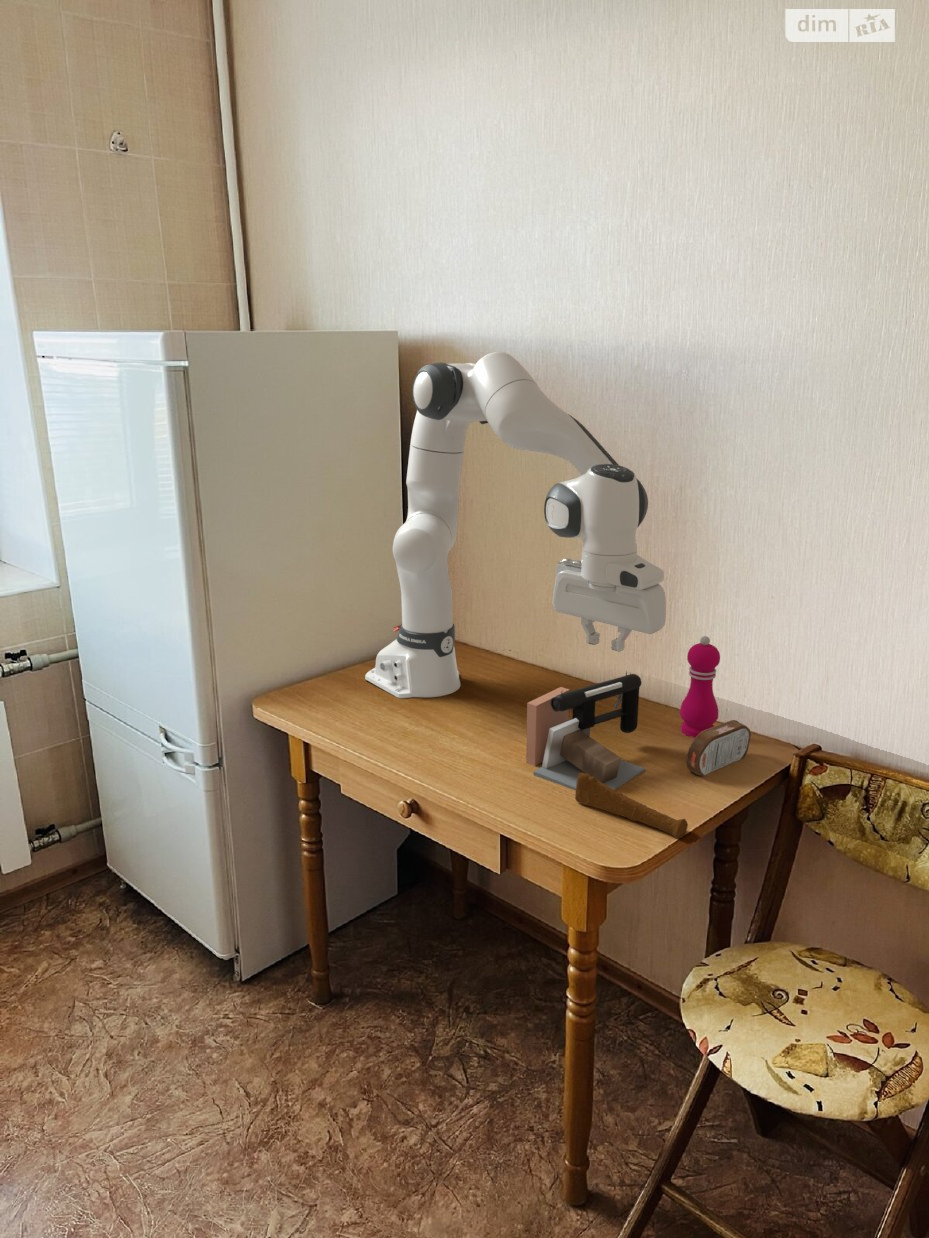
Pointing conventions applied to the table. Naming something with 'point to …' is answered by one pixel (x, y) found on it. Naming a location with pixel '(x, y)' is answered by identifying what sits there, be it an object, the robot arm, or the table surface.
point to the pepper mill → (700, 689)
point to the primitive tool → (625, 806)
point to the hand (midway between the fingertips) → (605, 646)
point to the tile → (542, 724)
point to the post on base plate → (580, 752)
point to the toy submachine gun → (587, 697)
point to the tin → (718, 747)
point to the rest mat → (569, 773)
